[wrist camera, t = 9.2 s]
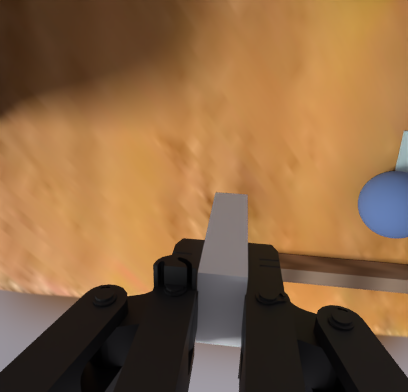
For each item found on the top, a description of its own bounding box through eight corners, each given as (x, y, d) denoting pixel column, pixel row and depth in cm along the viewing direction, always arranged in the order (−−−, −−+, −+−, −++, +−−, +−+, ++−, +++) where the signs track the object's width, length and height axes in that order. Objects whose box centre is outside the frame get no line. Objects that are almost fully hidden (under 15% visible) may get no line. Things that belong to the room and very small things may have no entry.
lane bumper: (199, 258, 39) (195, 272, 37) (202, 83, 33) (197, 85, 30) (519, 287, 36) (541, 306, 33) (599, 96, 29) (636, 100, 26)
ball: (419, 223, 34) (354, 207, 36) (443, 168, 31) (370, 154, 33) (422, 260, 29) (347, 239, 32) (450, 200, 26) (365, 181, 28)
